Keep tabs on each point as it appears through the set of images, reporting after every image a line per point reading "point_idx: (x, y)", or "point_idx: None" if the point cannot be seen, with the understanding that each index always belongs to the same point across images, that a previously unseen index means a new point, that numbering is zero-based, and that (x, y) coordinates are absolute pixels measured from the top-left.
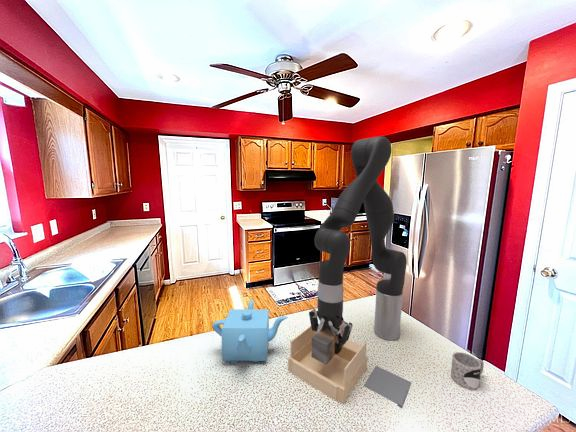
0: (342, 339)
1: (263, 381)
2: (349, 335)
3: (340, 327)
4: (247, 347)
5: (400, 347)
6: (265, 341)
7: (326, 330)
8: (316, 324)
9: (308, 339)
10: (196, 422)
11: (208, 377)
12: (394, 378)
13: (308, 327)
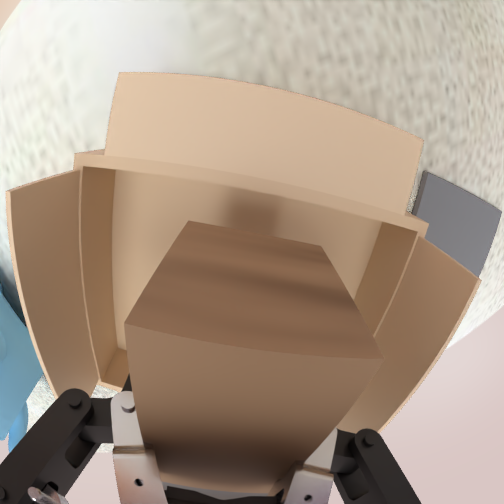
0: (340, 480)
1: (97, 388)
2: (395, 464)
3: (326, 500)
4: (26, 427)
5: (471, 22)
6: (21, 405)
7: (190, 465)
8: (71, 421)
9: (71, 274)
10: (101, 448)
11: (32, 395)
12: (472, 217)
13: (23, 312)
